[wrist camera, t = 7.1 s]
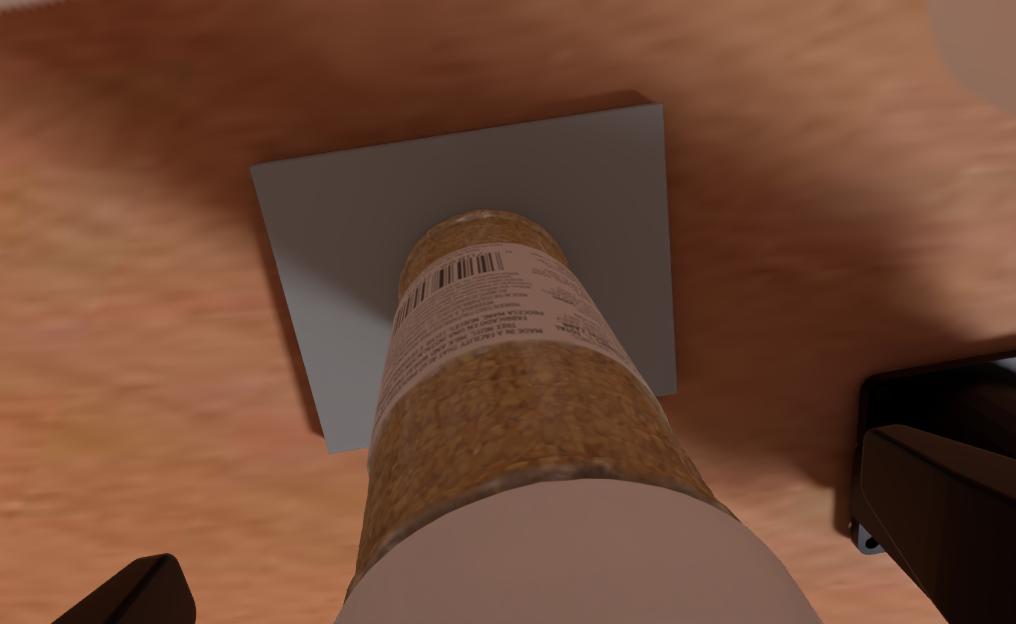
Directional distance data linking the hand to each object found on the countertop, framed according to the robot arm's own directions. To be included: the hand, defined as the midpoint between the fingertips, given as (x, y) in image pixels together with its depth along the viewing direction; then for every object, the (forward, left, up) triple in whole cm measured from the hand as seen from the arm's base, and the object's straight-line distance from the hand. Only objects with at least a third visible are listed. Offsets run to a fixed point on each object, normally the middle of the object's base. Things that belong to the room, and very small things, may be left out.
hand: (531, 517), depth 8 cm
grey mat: (0, 0, -10) cm, 10 cm away
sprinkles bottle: (0, 0, -9) cm, 9 cm away
